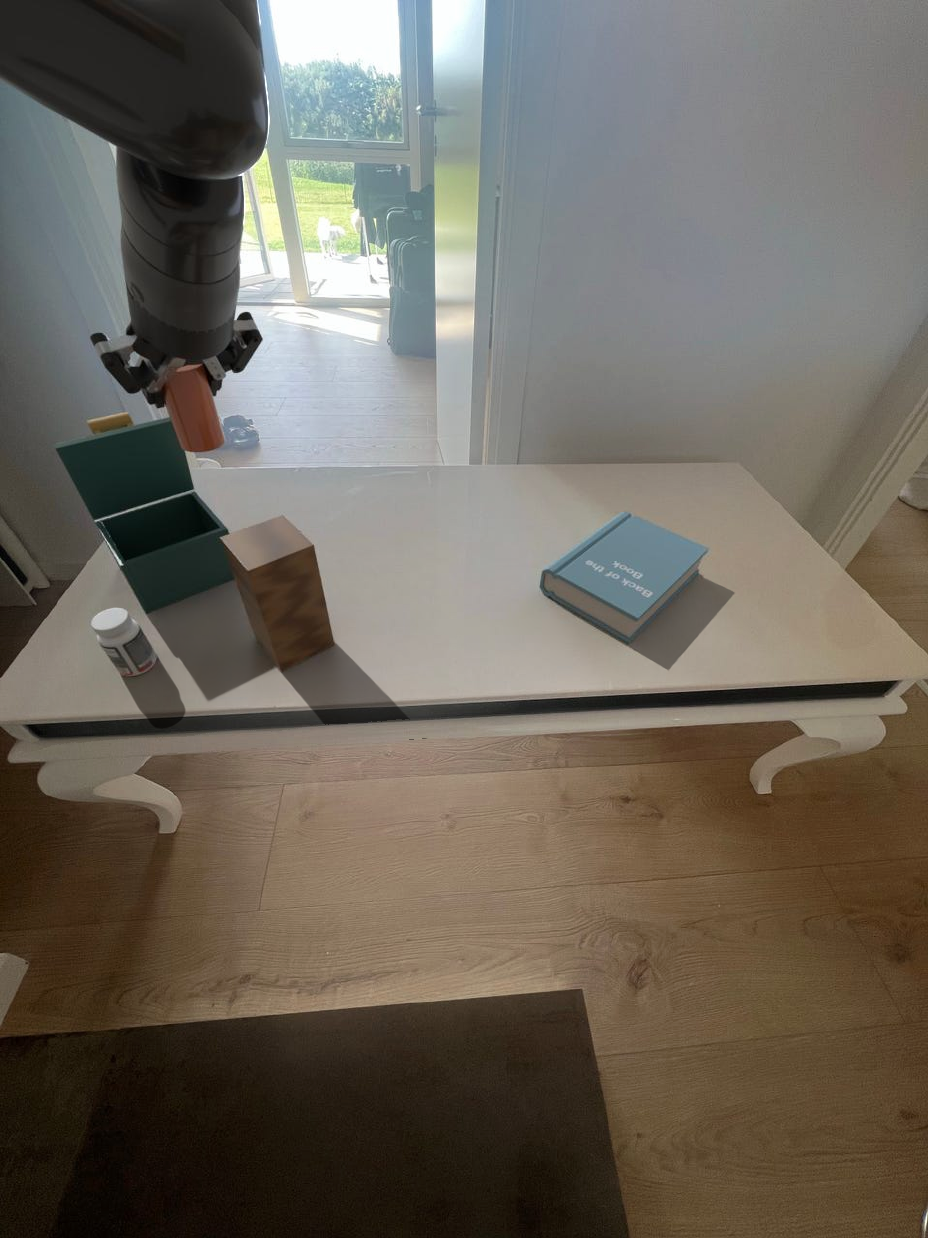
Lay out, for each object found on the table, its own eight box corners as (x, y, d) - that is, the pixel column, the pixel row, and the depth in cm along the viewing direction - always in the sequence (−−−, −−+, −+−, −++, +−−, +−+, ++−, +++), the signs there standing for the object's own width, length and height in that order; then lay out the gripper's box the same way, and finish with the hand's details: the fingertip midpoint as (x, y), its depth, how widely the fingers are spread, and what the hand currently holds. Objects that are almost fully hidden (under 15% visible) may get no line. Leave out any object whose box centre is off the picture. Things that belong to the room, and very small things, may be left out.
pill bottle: (156, 646, 71) (131, 600, 65) (158, 670, 68) (132, 624, 62) (117, 657, 70) (87, 611, 64) (118, 682, 67) (87, 636, 61)
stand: (280, 672, 69) (247, 571, 57) (255, 637, 73) (219, 537, 61) (334, 644, 72) (314, 544, 61) (307, 613, 77) (283, 514, 65)
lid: (177, 419, 71) (160, 393, 72) (55, 448, 64) (38, 419, 65) (194, 489, 83) (179, 466, 85) (93, 520, 76) (79, 494, 78)
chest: (243, 575, 83) (227, 528, 76) (145, 614, 76) (120, 566, 70) (211, 535, 90) (194, 490, 84) (119, 567, 83) (93, 520, 77)
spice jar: (188, 456, 54) (160, 375, 48) (173, 440, 56) (145, 361, 51) (232, 445, 56) (210, 366, 50) (216, 429, 58) (193, 353, 53)
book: (628, 643, 74) (638, 618, 71) (538, 591, 82) (542, 566, 78) (698, 572, 87) (709, 548, 83) (614, 532, 94) (620, 508, 91)
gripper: (252, 225, 42) (233, 347, 57) (47, 237, 35) (86, 372, 50) (294, 315, 43) (265, 412, 58) (102, 344, 36) (125, 445, 51)
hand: (182, 393), depth 54 cm, fingers closed on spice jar, 4 cm apart
